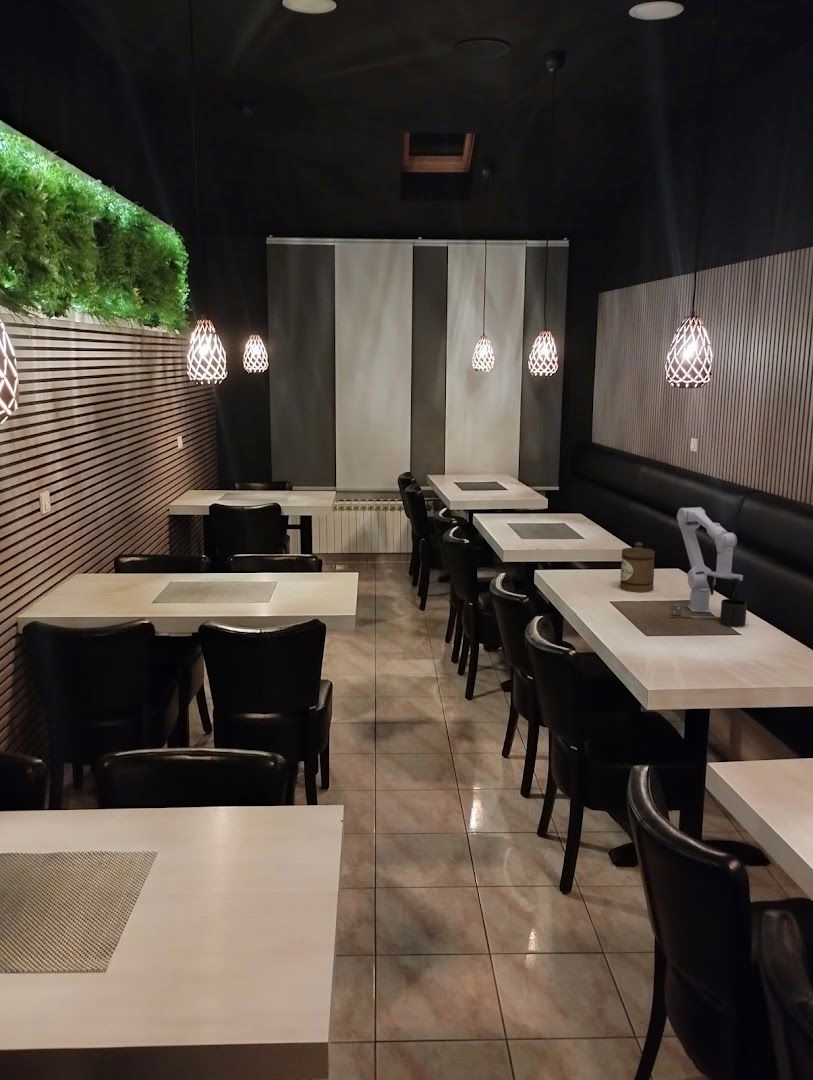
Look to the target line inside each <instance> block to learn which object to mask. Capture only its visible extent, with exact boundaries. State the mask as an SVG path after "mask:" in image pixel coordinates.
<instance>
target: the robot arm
mask: <svg viewBox="0 0 813 1080" xmlns="http://www.w3.org/2000/svg"><path fill="white" fill-rule="evenodd" d="M676 519H677V523H678V526H679V529H680V531H681V535H682V538H683V542H684V545H685V549H686V553H687V557H688V560H689V563H690V564H689V565H690V568H691V569H690V570H689V571H688V572H687V584H688V586H689V588H690V590H691V591H690V596H689V597H690V598H689V605H688V604H687V605H686V607H688V609H689V610H690V611H691V612H695V613H712V610H711V609H710V598H711V596H713V595H714V591H715V587H714V586H715V585H716V578H718V579H719V578H720V579H727V580H731V588H730V589H731V590H730V598H734V596H735V591H736V588H737V587H738V585H739V583H740V581H741V582H742V581H743V580H744V578H743V577H744V575H743V574H739V573H738V574H737V573H733V572H732V567H733V554H734V553H733V552H734V548H735V546H737V543H738V537H737V536H736V534H735V533H734V532H728V531H727V530H726V529H725V528H724V527H722V525H721V524H720V523H719V522H713V521H712V520H711V518H709V517H708V516H707V514H706V511H705V509H703V507H701V506H698V507H680V508H679V509H678V512H677V514H676ZM700 526H702V527H703V528H704V529H706V533H707V534H708V535H709V536H710V537H711V538H712V539H713V540H714V544H715V546H716V548H715V549H716V552H717V554H716V555H717V556H716V568H715V569H716V571H712V569H711V568H709V567H708V566H706V565H705V563H704V558H703V554H702V551H701V547H700V544H699V542H698V538H697V534H696V530H697V529H698V528H700Z"/></svg>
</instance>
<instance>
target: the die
mask: <svg viewBox="0 0 813 1080" xmlns="http://www.w3.org/2000/svg"><path fill="white" fill-rule="evenodd" d="M682 607H683V606H682V605H680V604H679V605H677V604H674V605H673V604H670V605H669V615H683V614H682V613H683V612H682Z"/></svg>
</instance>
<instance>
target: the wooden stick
mask: <svg viewBox="0 0 813 1080" xmlns="http://www.w3.org/2000/svg"><path fill="white" fill-rule="evenodd" d="M666 616H667V617H677V618H676V619H690V618H694V619H695V620H719V621H720V616H708V615H683V614H682V615H670V614H666ZM666 616H665V617H666ZM667 617H666V618H667Z"/></svg>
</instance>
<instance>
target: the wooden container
mask: <svg viewBox="0 0 813 1080" xmlns="http://www.w3.org/2000/svg"><path fill="white" fill-rule="evenodd" d="M643 544H644V543H642V542H640V541H637V542H635V543H634V547H624V548H622V549H621V562H620V563H621V566H620V584H619V587H620V589H621V590H623V591H625V590H626V591H625V592H630V593H648V592H652V591H653V590H654V579H655V552H656V551H655V550H653V549H651V548H644V547H643Z"/></svg>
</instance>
